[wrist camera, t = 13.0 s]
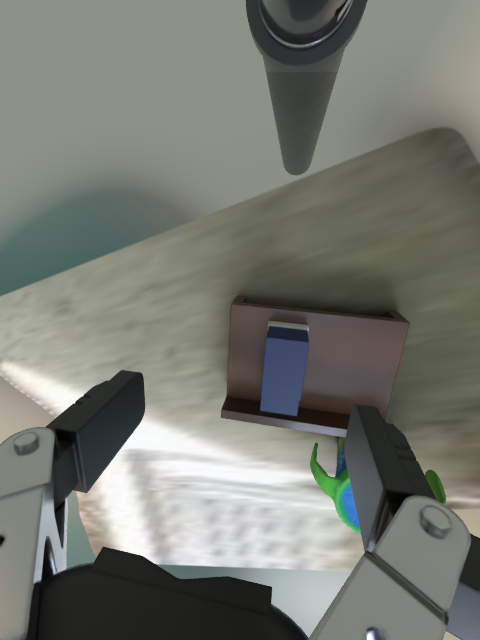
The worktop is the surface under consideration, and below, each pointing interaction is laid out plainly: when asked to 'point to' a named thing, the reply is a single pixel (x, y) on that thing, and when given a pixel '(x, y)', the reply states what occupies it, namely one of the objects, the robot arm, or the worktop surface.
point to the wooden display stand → (315, 365)
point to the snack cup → (342, 488)
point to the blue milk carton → (284, 367)
